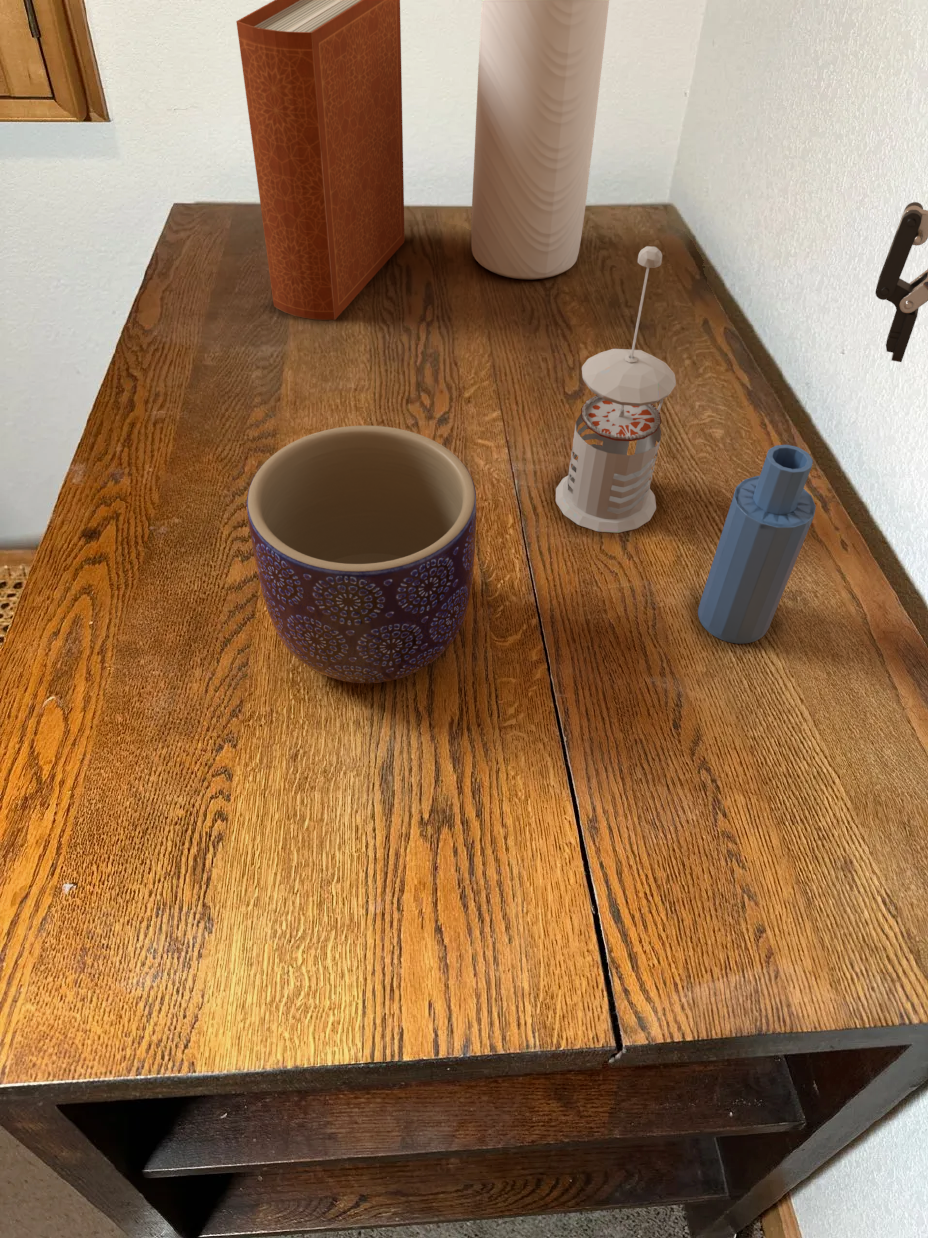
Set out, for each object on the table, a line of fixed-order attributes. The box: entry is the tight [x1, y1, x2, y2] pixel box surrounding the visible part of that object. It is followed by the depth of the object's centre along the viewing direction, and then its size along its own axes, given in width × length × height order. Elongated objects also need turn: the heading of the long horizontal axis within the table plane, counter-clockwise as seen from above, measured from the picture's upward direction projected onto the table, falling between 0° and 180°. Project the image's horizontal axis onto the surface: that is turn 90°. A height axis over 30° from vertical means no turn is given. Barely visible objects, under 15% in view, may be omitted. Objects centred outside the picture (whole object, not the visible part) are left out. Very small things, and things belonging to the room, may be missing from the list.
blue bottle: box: [697, 444, 817, 645], centre depth 74 cm, size 6×6×17 cm
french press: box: [555, 245, 677, 534], centre depth 81 cm, size 10×12×25 cm
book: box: [235, 0, 406, 321], centre depth 107 cm, size 23×8×30 cm, turn 160°
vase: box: [470, 0, 610, 280], centre depth 112 cm, size 14×14×32 cm
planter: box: [246, 425, 477, 684], centre depth 72 cm, size 17×17×15 cm
